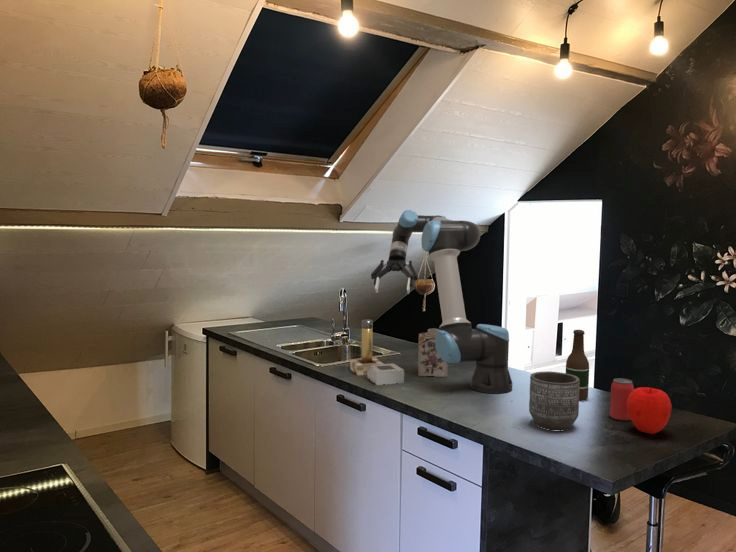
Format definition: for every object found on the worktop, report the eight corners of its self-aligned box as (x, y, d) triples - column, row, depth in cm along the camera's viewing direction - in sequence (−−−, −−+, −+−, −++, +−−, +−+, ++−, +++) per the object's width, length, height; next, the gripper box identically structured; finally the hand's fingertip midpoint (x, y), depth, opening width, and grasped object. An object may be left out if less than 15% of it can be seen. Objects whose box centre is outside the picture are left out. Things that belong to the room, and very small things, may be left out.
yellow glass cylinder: (373, 372, 242) (374, 321, 240) (363, 373, 240) (363, 321, 238) (370, 369, 246) (370, 319, 244) (359, 370, 245) (360, 319, 243)
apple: (627, 436, 170) (629, 391, 169) (623, 423, 181) (625, 380, 180) (673, 441, 167) (676, 395, 165) (665, 428, 178) (668, 384, 177)
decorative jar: (446, 370, 246) (447, 327, 244) (447, 377, 234) (448, 332, 233) (417, 369, 247) (418, 326, 246) (417, 376, 236) (418, 331, 234)
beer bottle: (573, 402, 203) (575, 332, 201) (559, 395, 210) (562, 328, 208) (592, 400, 205) (595, 331, 203) (579, 394, 212) (581, 327, 210)
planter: (519, 425, 179) (521, 376, 178) (543, 415, 189) (545, 368, 188) (563, 437, 169) (565, 386, 168) (586, 426, 179) (588, 377, 178)
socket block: (403, 383, 226) (404, 370, 225) (376, 385, 222) (376, 372, 222) (393, 375, 236) (393, 363, 236) (367, 377, 233) (367, 365, 232)
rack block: (383, 373, 240) (384, 363, 239) (357, 375, 236) (357, 365, 236) (375, 367, 250) (375, 357, 250) (350, 369, 247) (350, 359, 246)
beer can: (613, 413, 191) (615, 376, 190) (635, 417, 187) (637, 380, 186) (606, 418, 186) (608, 380, 185) (628, 422, 182) (630, 384, 181)
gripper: (426, 260, 265) (422, 297, 252) (371, 259, 270) (364, 295, 257) (425, 248, 259) (420, 286, 246) (369, 247, 265) (361, 284, 251)
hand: (391, 291), depth 252 cm, fingers open, 13 cm apart
